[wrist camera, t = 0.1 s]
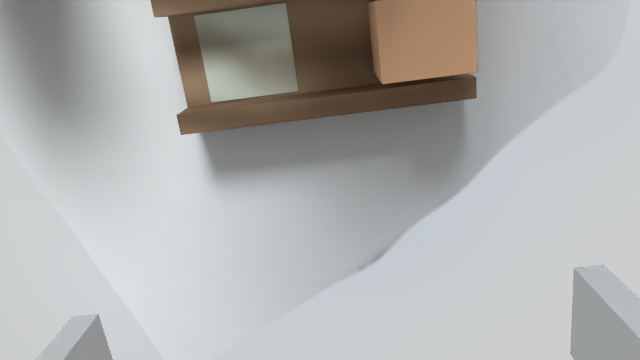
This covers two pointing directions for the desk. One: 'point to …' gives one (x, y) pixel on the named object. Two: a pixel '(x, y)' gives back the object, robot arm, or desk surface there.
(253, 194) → the desk surface
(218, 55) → the chute
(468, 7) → the block
